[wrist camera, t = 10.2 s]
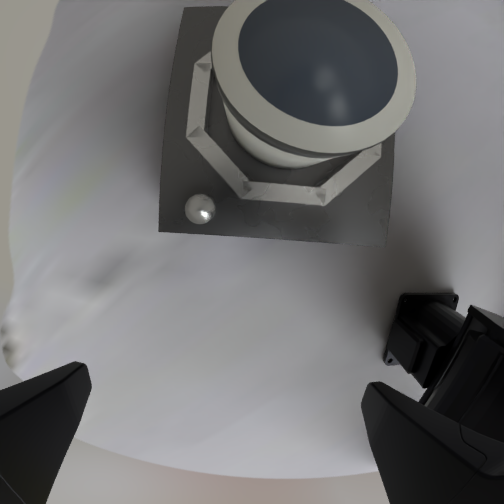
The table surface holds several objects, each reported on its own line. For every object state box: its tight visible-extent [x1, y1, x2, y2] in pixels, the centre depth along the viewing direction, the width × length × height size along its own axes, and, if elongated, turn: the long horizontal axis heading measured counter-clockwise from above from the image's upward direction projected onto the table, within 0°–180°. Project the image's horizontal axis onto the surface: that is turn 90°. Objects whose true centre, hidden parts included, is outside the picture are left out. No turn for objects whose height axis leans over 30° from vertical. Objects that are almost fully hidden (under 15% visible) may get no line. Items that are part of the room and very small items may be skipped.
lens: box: [211, 0, 416, 169], centre depth 10 cm, size 6×6×7 cm
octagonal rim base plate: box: [159, 6, 395, 247], centre depth 15 cm, size 12×13×6 cm
